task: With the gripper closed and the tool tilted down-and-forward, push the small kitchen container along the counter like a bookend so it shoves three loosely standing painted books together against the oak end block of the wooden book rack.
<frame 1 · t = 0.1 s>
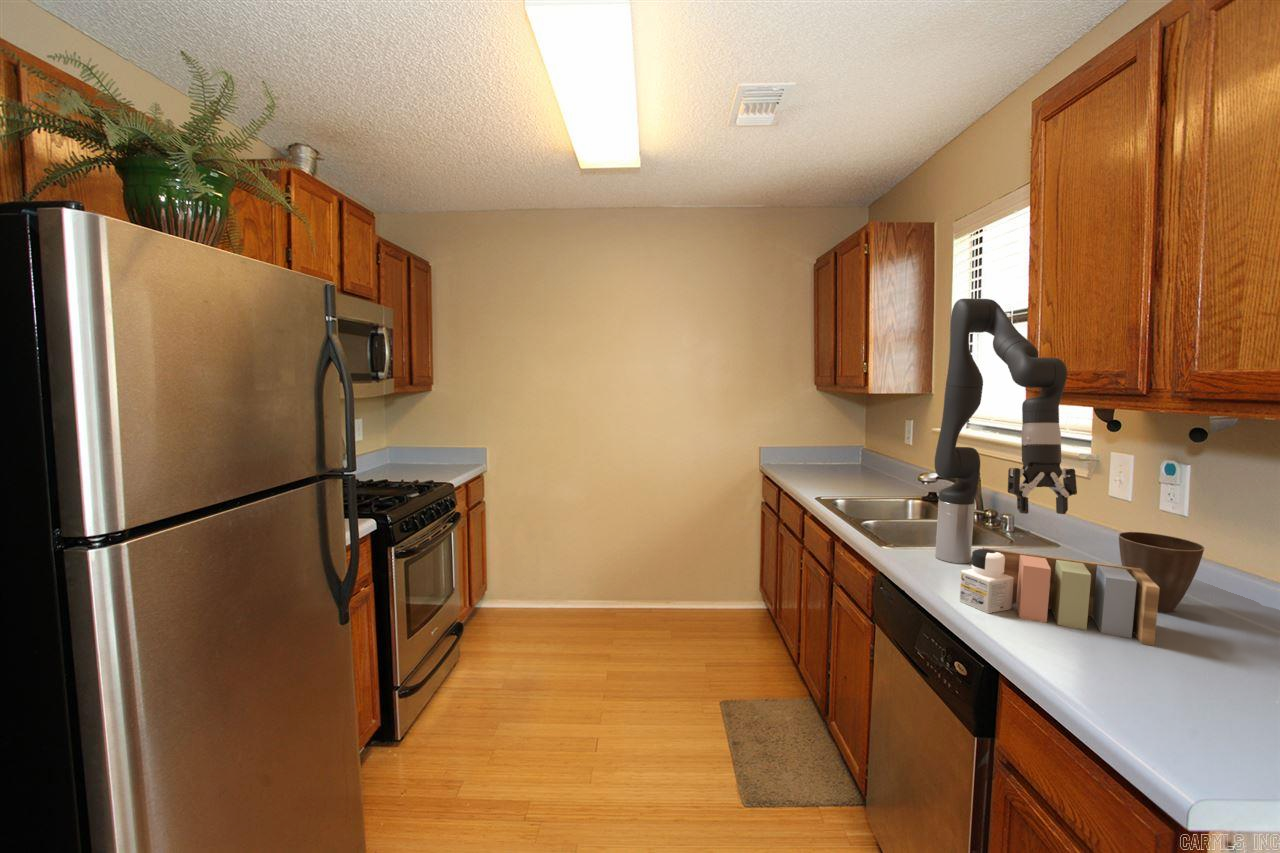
hand: (1042, 513, 133), 22 cm above the counter, tool pointing down, fingers open, 8 cm apart
book a: (1111, 627, 125), on the counter
container: (984, 606, 136), on the counter
plant pot: (1153, 607, 136), on the counter
wooden book rack: (1053, 608, 134), on the counter
book b: (1068, 619, 128), on the counter
book c: (1030, 613, 132), on the counter
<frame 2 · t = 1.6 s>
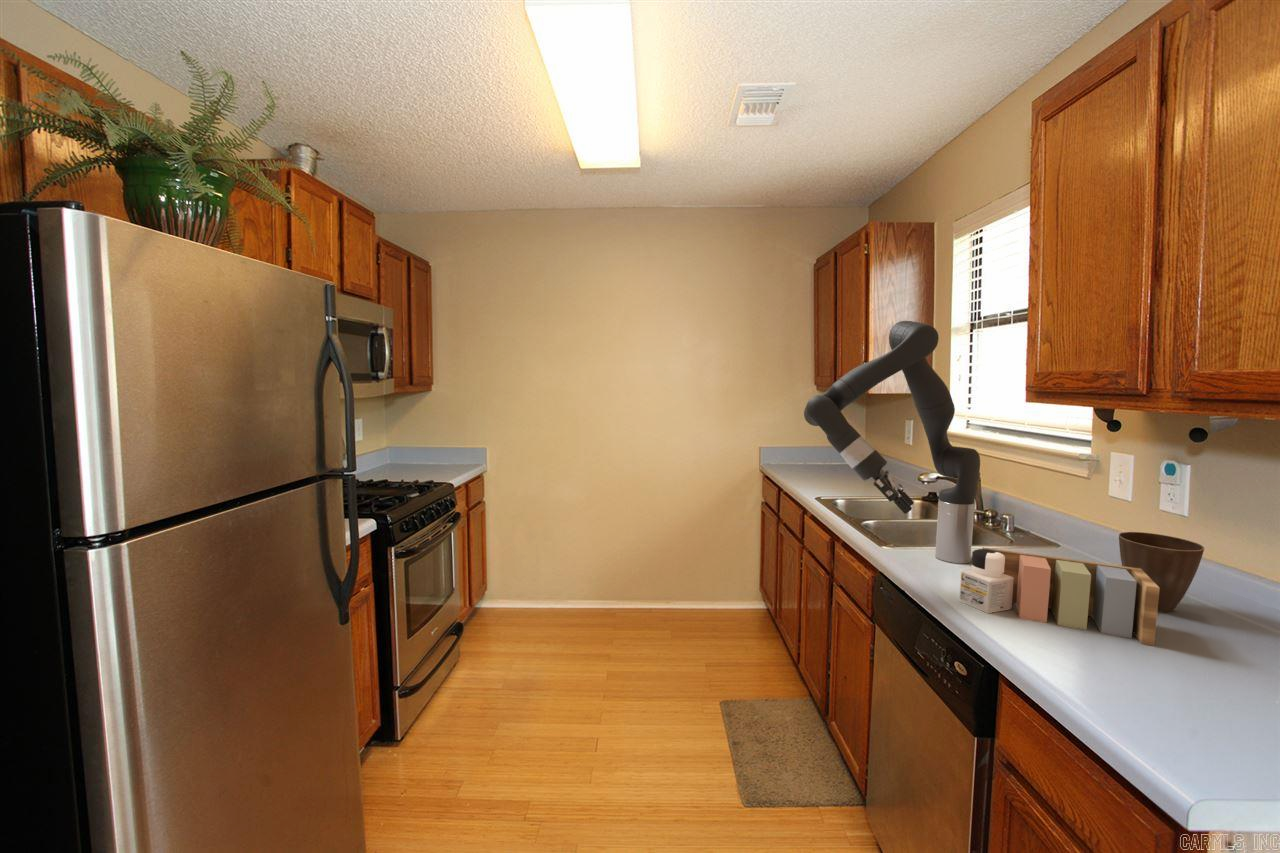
hand: (909, 508, 144), 21 cm above the counter, tool tilted 45°, fingers open, 7 cm apart
nothing on the counter moved.
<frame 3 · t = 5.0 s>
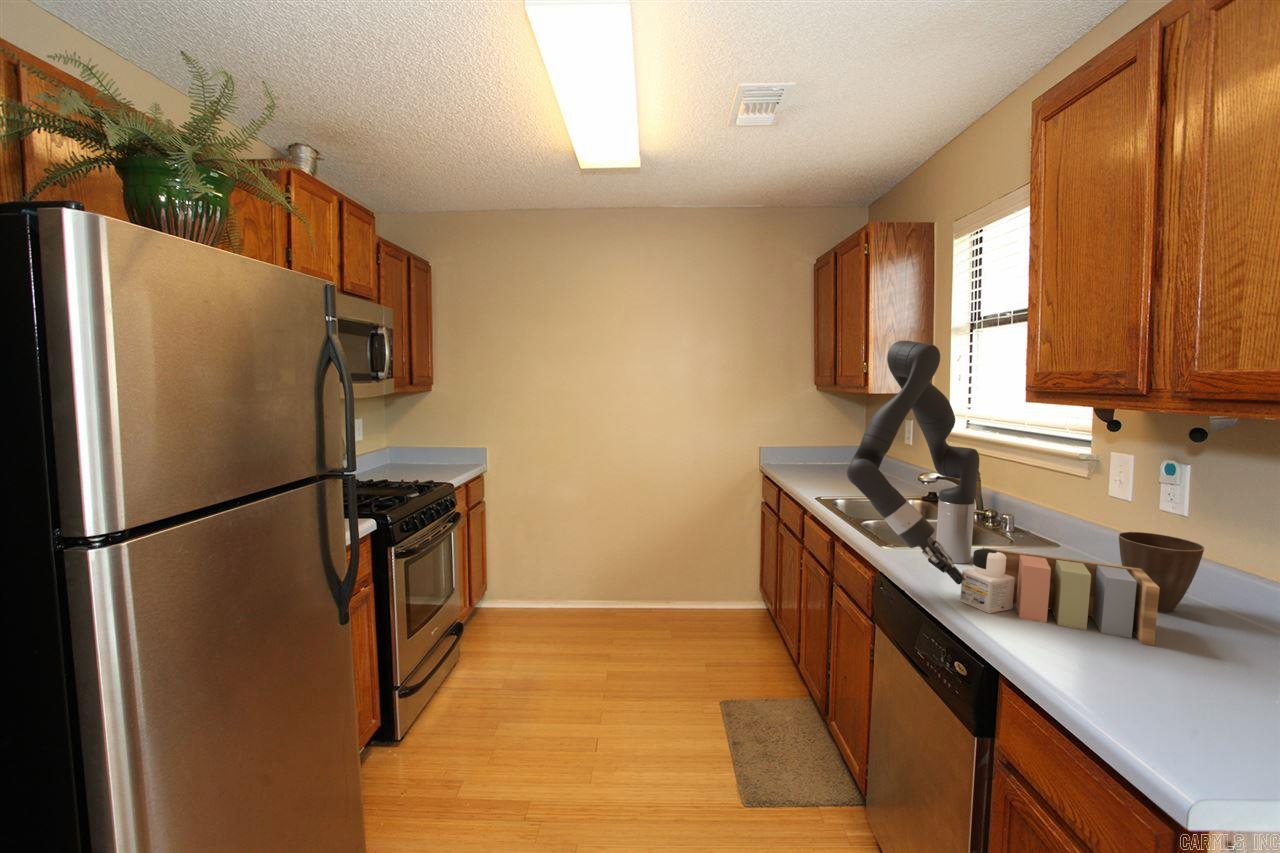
hand: (962, 581, 138), 5 cm above the counter, tool tilted 45°, fingers closed
container: (985, 606, 136), on the counter, touching gripper
everything else where it was.
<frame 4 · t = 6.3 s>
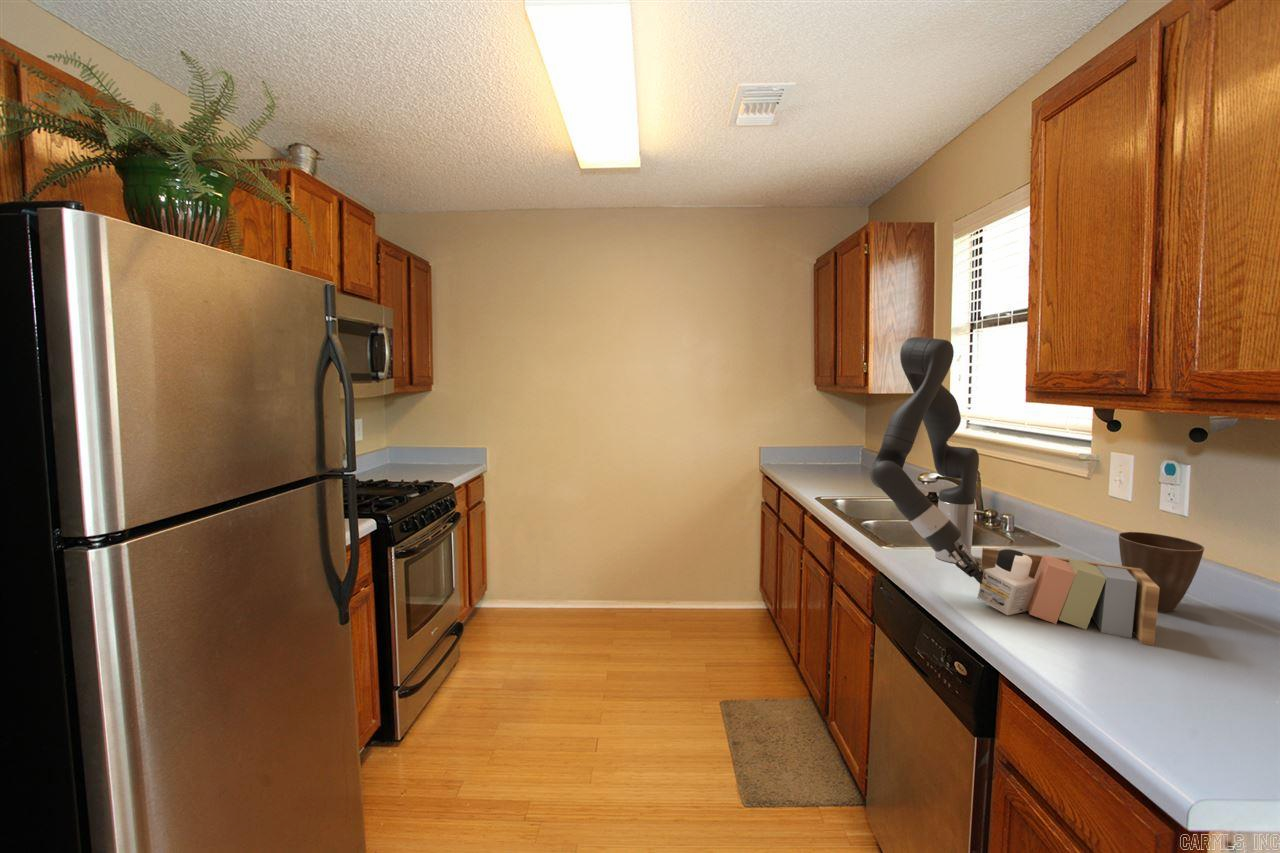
hand: (989, 586, 135), 5 cm above the counter, tool tilted 45°, fingers closed
book a: (1111, 627, 125), on the counter, touching book b
container: (1002, 605, 134), point 1 cm above the counter, touching book c, gripper
book b: (1068, 617, 128), on the counter, tilted 12°, touching book a, book c
book c: (1040, 611, 131), point 1 cm above the counter, tilted 13°, touching book b, container
everything else where it was.
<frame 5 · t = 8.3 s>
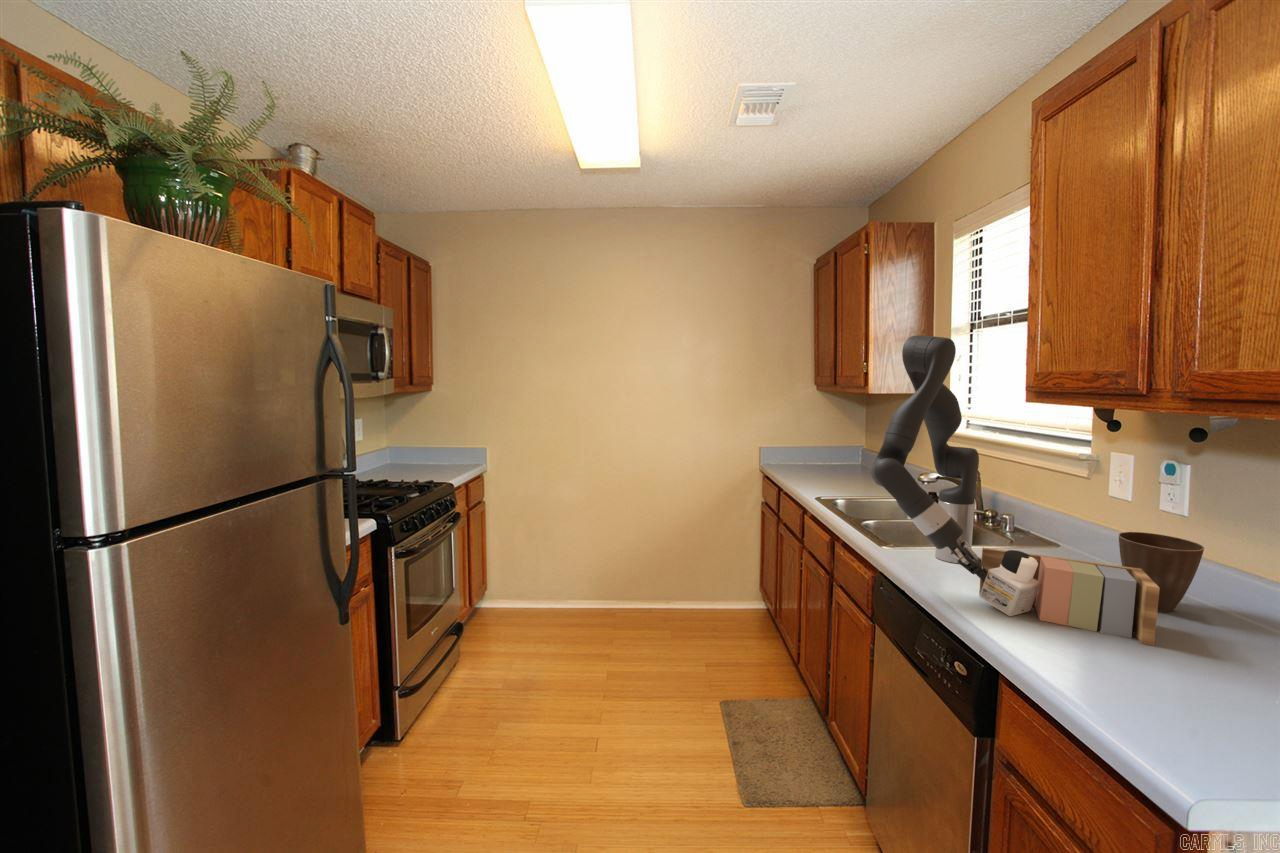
hand: (992, 583, 135), 5 cm above the counter, tool tilted 45°, fingers closed
book a: (1110, 627, 125), on the counter
container: (1003, 605, 134), point 1 cm above the counter, touching book c, gripper
book b: (1078, 620, 128), on the counter, touching book c
book c: (1050, 615, 130), on the counter, touching book b, container
everything else where it was.
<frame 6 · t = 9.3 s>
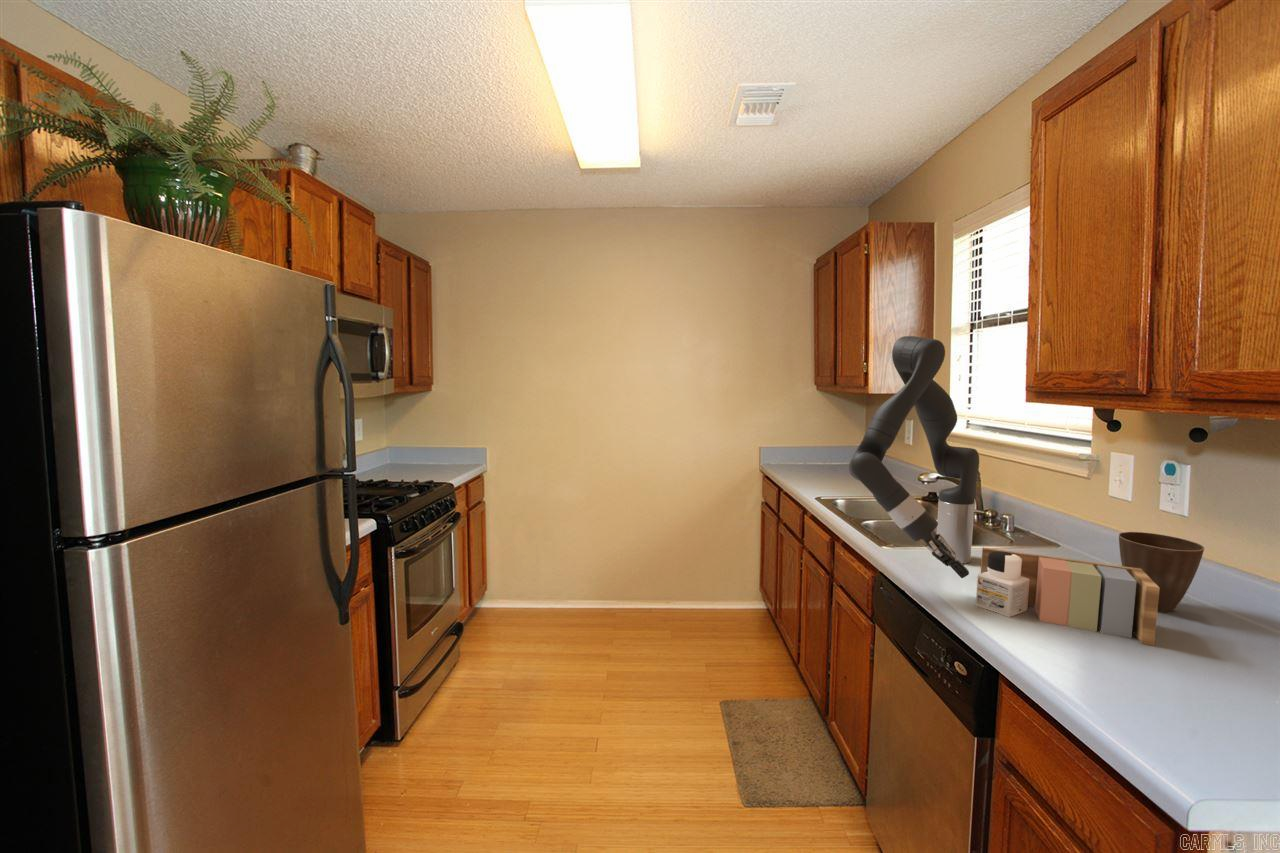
hand: (965, 575, 137), 6 cm above the counter, tool tilted 45°, fingers closed
container: (1001, 609, 134), on the counter
book b: (1078, 621, 128), on the counter
book c: (1050, 615, 130), on the counter
everything else where it was.
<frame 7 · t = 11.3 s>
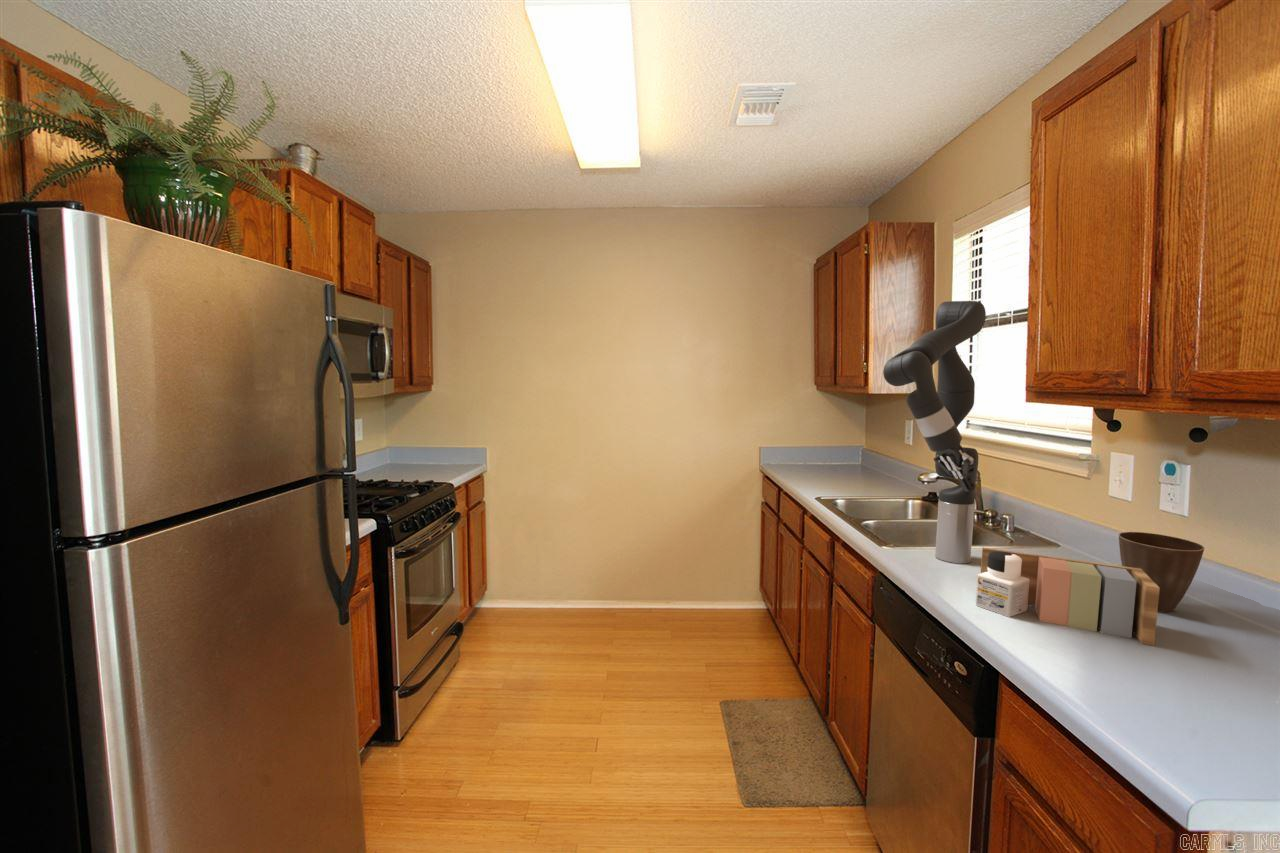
hand: (970, 489, 141), 26 cm above the counter, tool tilted 30°, fingers closed
nothing on the counter moved.
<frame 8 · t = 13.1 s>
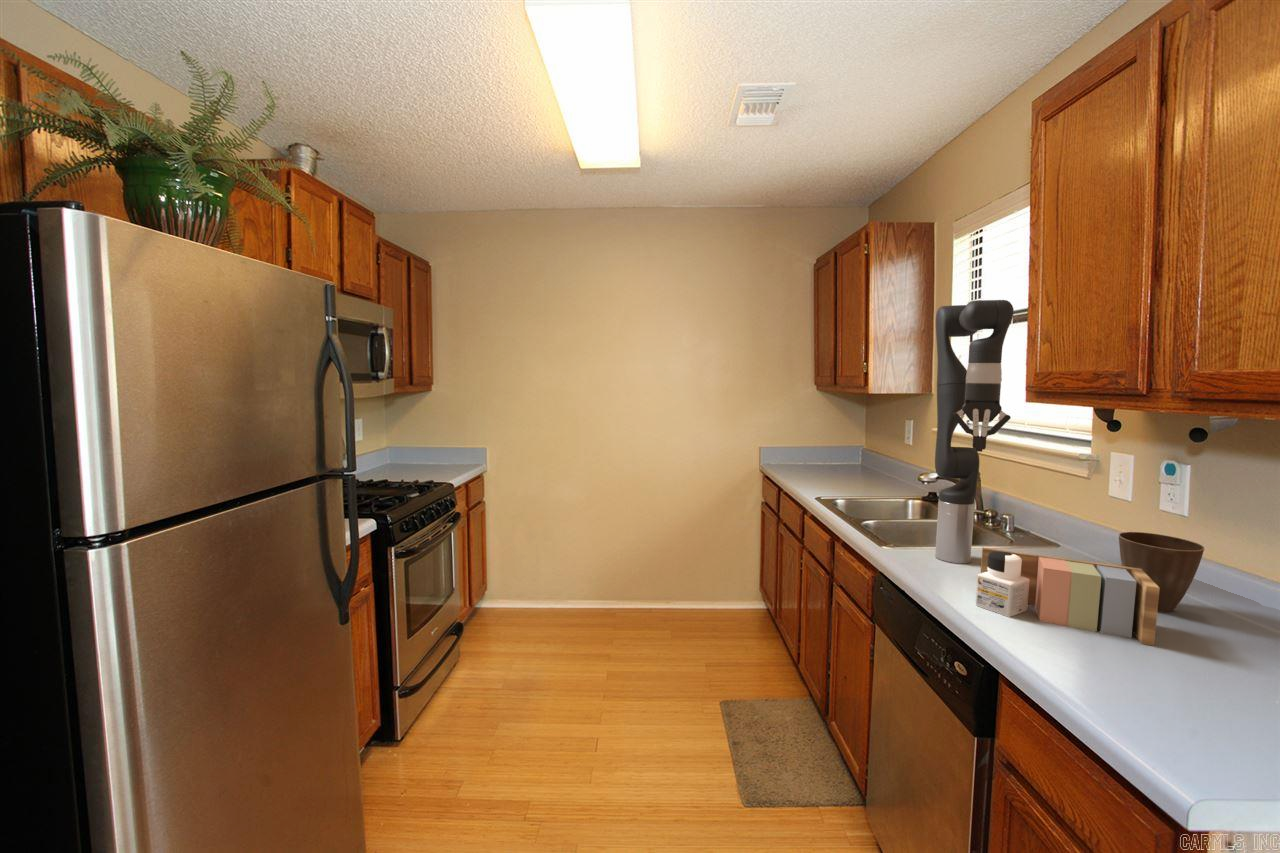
hand: (978, 451, 145), 35 cm above the counter, tool pointing down, fingers closed
nothing on the counter moved.
at the end: container inside the target area (1.1 cm from its centre), on the counter; book c 5.0 cm from the book b (horizontally); book b 5.7 cm from the book a (horizontally) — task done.
